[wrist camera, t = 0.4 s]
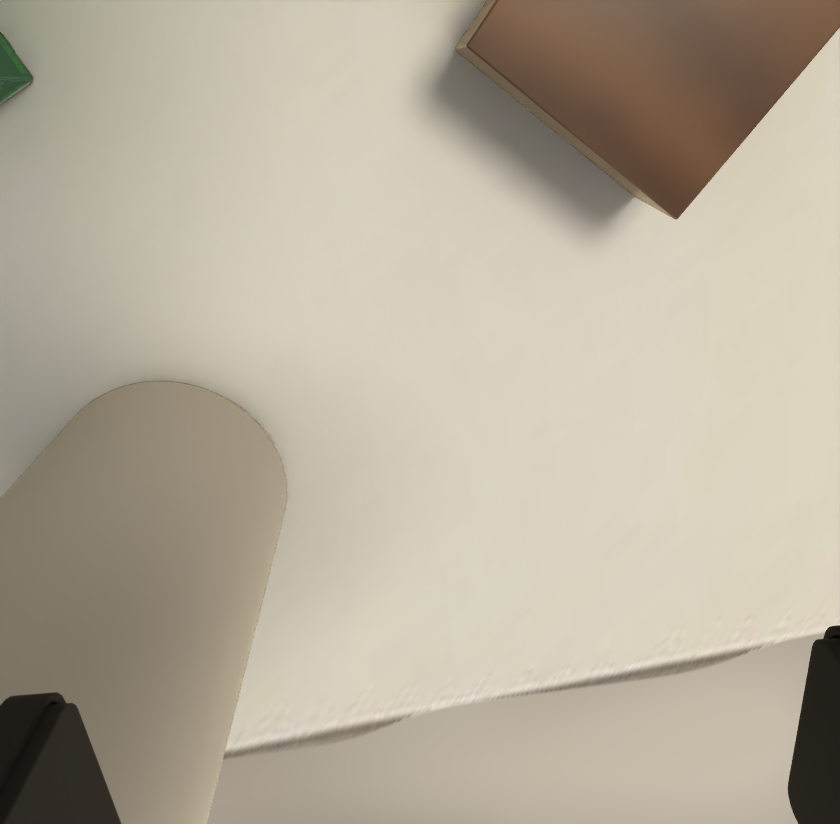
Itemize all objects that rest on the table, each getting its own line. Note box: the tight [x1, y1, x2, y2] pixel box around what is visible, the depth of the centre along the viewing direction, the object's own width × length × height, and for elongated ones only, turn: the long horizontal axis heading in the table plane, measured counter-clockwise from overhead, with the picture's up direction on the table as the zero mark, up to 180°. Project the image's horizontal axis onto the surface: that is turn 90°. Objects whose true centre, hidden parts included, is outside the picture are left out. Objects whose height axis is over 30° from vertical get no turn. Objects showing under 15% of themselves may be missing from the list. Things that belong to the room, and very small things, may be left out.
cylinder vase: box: [0, 381, 287, 824], centre depth 31 cm, size 12×12×25 cm
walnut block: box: [455, 0, 840, 219], centre depth 30 cm, size 11×11×6 cm
